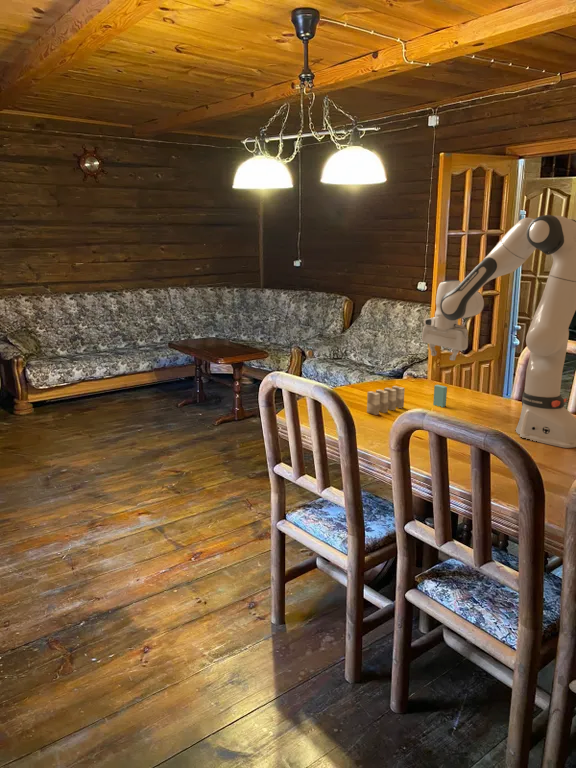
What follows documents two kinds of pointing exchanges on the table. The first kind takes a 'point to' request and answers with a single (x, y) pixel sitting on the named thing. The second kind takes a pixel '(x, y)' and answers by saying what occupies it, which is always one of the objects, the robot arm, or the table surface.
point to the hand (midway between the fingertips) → (442, 357)
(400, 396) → the domino
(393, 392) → the domino
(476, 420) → the table surface
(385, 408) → the domino
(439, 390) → the domino
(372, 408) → the domino
